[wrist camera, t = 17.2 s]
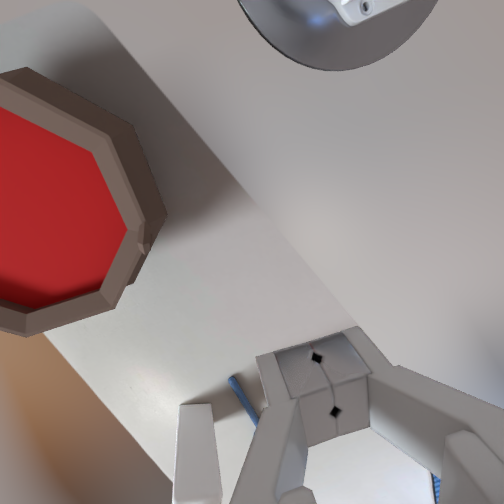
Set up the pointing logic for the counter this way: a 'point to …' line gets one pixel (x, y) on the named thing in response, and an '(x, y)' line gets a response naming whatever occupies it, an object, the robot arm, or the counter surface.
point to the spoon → (244, 400)
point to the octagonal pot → (68, 205)
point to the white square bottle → (196, 457)
